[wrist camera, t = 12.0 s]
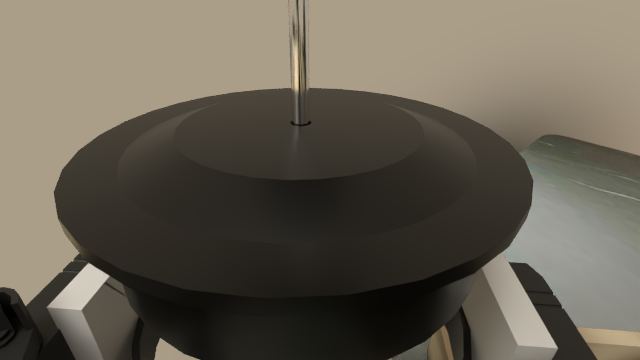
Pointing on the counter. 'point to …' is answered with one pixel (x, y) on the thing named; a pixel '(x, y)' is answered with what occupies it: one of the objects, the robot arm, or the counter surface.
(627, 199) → the counter surface
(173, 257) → the french press
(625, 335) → the wooden frame
